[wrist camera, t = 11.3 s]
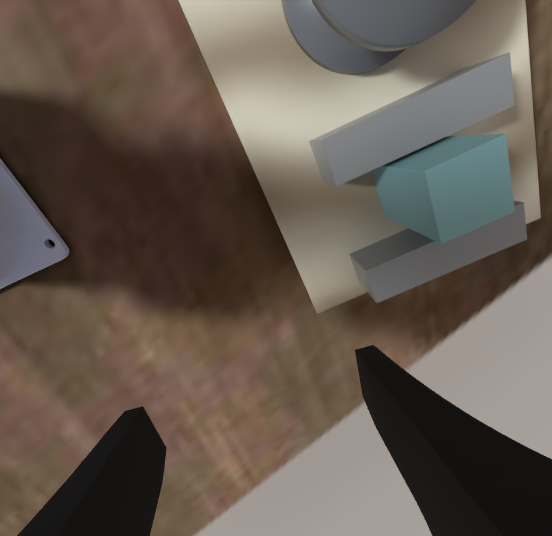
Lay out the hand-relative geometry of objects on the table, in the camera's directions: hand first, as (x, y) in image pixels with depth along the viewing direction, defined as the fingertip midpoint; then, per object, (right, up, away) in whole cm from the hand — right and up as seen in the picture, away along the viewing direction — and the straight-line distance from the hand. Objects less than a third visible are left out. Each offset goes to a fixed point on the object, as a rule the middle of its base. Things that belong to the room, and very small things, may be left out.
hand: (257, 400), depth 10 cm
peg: (+7, +9, +6) cm, 13 cm away
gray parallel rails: (+8, +9, +6) cm, 13 cm away
